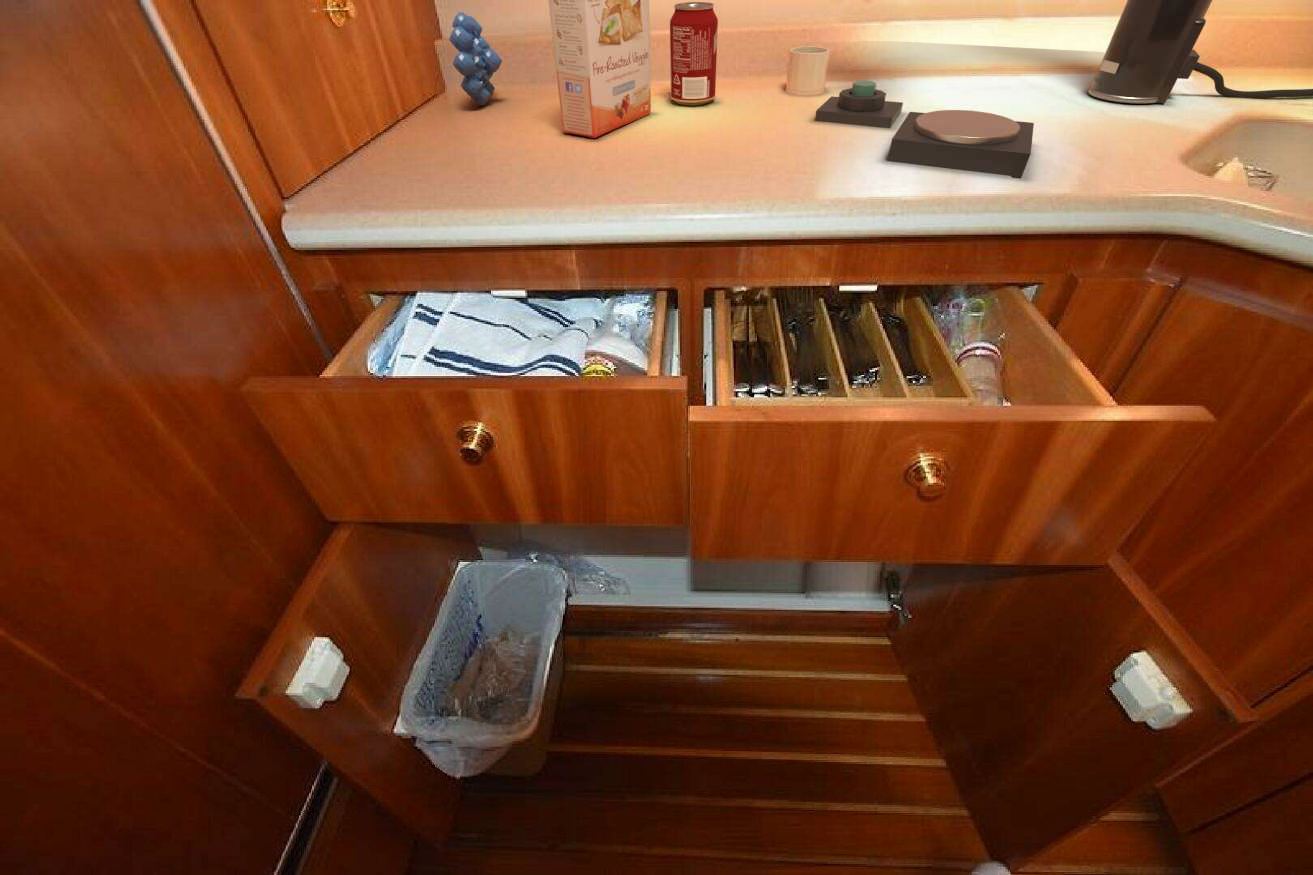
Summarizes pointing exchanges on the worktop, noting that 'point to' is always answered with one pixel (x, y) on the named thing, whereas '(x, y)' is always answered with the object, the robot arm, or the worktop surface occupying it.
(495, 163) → the worktop surface
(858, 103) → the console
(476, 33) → the grapes
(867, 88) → the button
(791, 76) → the cup
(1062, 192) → the worktop surface
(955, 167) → the scale
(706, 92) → the soda can
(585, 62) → the cracker box
